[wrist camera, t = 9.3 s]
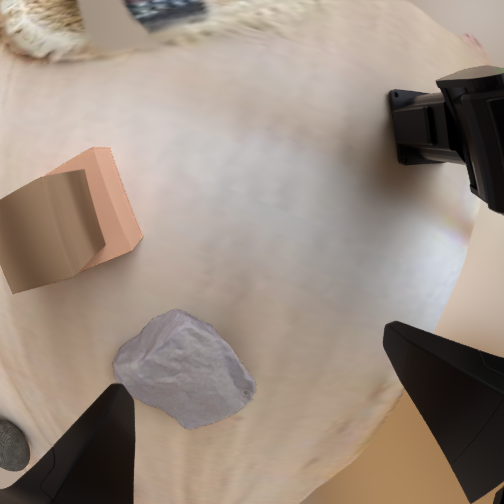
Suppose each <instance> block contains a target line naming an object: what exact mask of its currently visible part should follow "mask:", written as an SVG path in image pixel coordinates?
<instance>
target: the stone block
mask: <svg viewBox="0 0 504 504" xmlns="http://www.w3.org/2000/svg"><path fill="white" fill-rule="evenodd" d="M113 368H114V376H115V379H116V381H117V383H122V384H123V385H124V386H125V387H126V389H127V390H128V392H129V393H130V395H132V396H133V397H134V398H136V399H138V400H140V401H141V402H143V403H145V404H147V405H149V406H153V407H156V408H159V409H161V410H163V411H165V412H166V413H167V414H169V415H170V416H172V417H174V418H175V419H176V420H177V421H178V422H179V423H180V424H181V425H182V426H183V427H184V428H187V429H195V428H198V427H201V426H206V425H209V424H212V423H214V422H217V421H220V420H222V419H224V418H226V417H229V416H230V415H233V414H235V413H237V412H238V411H239V410H241V409H242V408H243V407H244V406H246V405H247V404H248V403H249V402H251V401H252V400H253V397H252V395H253V394H254V393H256V382H255V380H254V378H253V377H252V376H251V375H250V373H249V372H248V371H247V370H246V369H245V367H244V365H243V363H242V362H241V361H240V360H239V359H238V357H237V356H236V354H235V352H234V351H233V350H232V348H231V347H230V346H229V344H228V343H227V342H226V341H225V340H224V339H222V338H221V337H220V336H219V335H218V333H217V332H216V331H215V330H214V328H213V327H212V326H211V325H210V324H208V323H205V322H203V321H201V320H199V319H198V318H196V317H194V316H192V315H190V314H188V313H186V312H184V311H181V310H178V309H173V310H171V311H169V312H167V313H165V314H163V315H160V316H157V317H156V318H154V319H152V320H151V321H150V322H149V324H148V325H147V326H146V327H145V328H143V330H142V332H141V333H140V334H139V335H137V336H136V337H134V338H133V339H131V340H129V341H128V342H127V343H126V344H125V345H124V346H123V347H122V348H120V350H119V351H118V354H117V355H116V357H115V359H114V361H113Z"/></svg>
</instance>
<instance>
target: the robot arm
mask: <svg viewBox="0 0 504 504" xmlns="http://www.w3.org/2000/svg"><path fill="white" fill-rule="evenodd" d="M436 84H437V86H438V88H440V90H441V93H433V94H429V93H422V92H415V91H406V90H397V89H394V90H391V91H390V92H389V98H390V103H391V109H392V115H393V122H394V129H395V137H396V144H397V154H398V161H399V163H400V164H401V165H415V164H429V163H446V162H450V163H456V164H462V165H466V167H467V171H468V175H469V179H470V189H471V192H472V193H473V194H475V195H476V196H477V197H479V198H480V199H482V200H483V201H484V202H486V203H487V204H488V208H489V209H491V210H492V211H494V212H497V213H499V214H502V215H504V68H499V67H493V66H479V67H474V68H468V69H464V70H461V71H458V72H456V73H453V74H451V75H448V76H445V77H443V78H440V79H438V80H436ZM394 93H395V95H396V97H395V96H394ZM403 157H404V158H405V160H404V161H403ZM383 347H384V350H385V351H386V353H387V355H388V357H389V359H390V361H391V363H392V365H393V368H394V370H395V372H396V374H397V376H398V378H399V380H400V381H401V383H402V385H403V386H404V388H405V390H406V391H407V393H408V394H409V396H410V397H411V399H412V401H413V402H414V404H415V405H416V407H417V409H418V410H419V412H420V414H421V415H422V417H423V419H424V420H425V422H426V424H427V425H428V427H429V429H430V430H431V432H432V434H433V436H434V437H435V439H436V441H437V442H438V444H439V446H440V447H441V449H442V451H443V453H444V455H445V456H446V458H447V460H448V462H449V464H450V466H451V468H452V470H453V472H454V473H455V475H456V477H457V479H458V481H459V483H460V485H461V487H462V489H463V491H464V493H465V495H466V497H467V499H468V501H469V502H470V504H472V503H473V502H475V501H476V500H478V499H480V498H481V497H482V496H484V495H486V494H487V493H488V492H490V491H491V490H493V489H494V488H496V487H497V486H498V485H500V484H501V483H502V482H504V358H502V357H499V356H495V355H493V354H489V353H486V352H483V351H481V350H478V349H474V348H472V347H469V346H466V345H463V344H460V343H457V342H455V341H452V340H449V339H446V338H443V337H441V336H437V335H435V334H432V333H429V332H427V331H424V330H421V329H418V328H415V327H413V326H410V325H407V324H404V323H402V322H399V321H393V322H390V323H388V324H386V325H385V328H384V336H383ZM134 459H135V408H134V400H133V398H132V396H131V395H130V393H129V392H128V390H127V389H126V387H125V386H124V385H123V384H122V383H115V384H111V385H110V386H109V387H108V388H107V389H106V390H105V391H104V392H103V393H102V394H101V395H100V396H99V397H98V398H97V399H96V400H95V401H94V403H93V404H92V405H91V406H90V407H89V408H88V409H87V410H86V411H85V412H84V413H83V414H82V415H81V416H80V417H79V419H78V420H77V421H76V422H75V423H74V424H73V425H72V426H71V427H70V428H69V429H68V430H67V431H66V433H65V434H64V435H63V436H62V437H61V438H60V439H59V440H58V441H57V442H56V443H55V444H54V446H53V447H52V448H51V449H50V450H49V451H48V452H47V453H46V454H45V455H44V456H43V457H42V458H41V459H40V460H39V461H38V462H37V463H36V464H35V465H34V466H33V467H32V468H31V469H30V470H28V471H27V472H26V473H25V474H24V475H23V476H22V477H20V478H19V479H18V480H17V481H16V482H15V483H14V484H13V485H11V486H9V487H7V488H5V489H0V504H134ZM493 504H504V486H503V487H502V488H501V489H499V490H498V491H497V492H496V494H495V498H494V501H493Z"/></svg>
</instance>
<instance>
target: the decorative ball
mask: <svg viewBox="0 0 504 504" xmlns="http://www.w3.org/2000/svg"><path fill="white" fill-rule="evenodd" d="M29 460H30V448H29V445H28V442H27V440H26V438H25V437H24V435H23V434H22V432H21V431H20V430H19V429H18V428H17V427H16V426H15V425H13V424H12V423H10V422H8V421H6V420H3V419H0V467H1V468H3V469H5V470H9V471H20V470H23V469H24V468H25V467H26V466H27V465H28V463H29Z"/></svg>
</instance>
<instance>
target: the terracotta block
mask: <svg viewBox="0 0 504 504" xmlns="http://www.w3.org/2000/svg"><path fill="white" fill-rule="evenodd" d="M81 169H85V173H86V178H87V182H88V186H89V190H90V193H91V197H92V201H93V204H94V208H95V211H96V215H97V218H98V221H99V225H100V228H101V231H102V234H103V237H104V240H105V243H106V245H105V246H104V247H103V248H102V249H101V250H100V251H99V252H98V253H97V254H96V255H95V256H94V257H93V258H92V259H91V260H90V261H89V262H88V263H87V264H86V265H85V266H84V267H83V268H82V269H81V270H80V271H79V272H81V271H84V270H86V269H88V268H91V267H93V266H96V265H98V264H100V263H103V262H105V261H108V260H110V259H113V258H115V257H118V256H120V255H123V254H125V253H128V252H130V251H132V250H133V249H134V248H135V246H136V245H137V244H138V242H139V241H140V240H141V239H142V237H143V234H142V232H141V230H140V227H139V225H138V222H137V220H136V217H135V215H134V212H133V210H132V207H131V205H130V202H129V200H128V197H127V194H126V192H125V189H124V186H123V183H122V181H121V178H120V175H119V172H118V169H117V166H116V163H115V160H114V157H113V154H112V151H111V148H107V147H92V148H90V149H88V150H86V151H85V152H83V153H81V154H79V155H77V156H76V157H74V158H72V159H71V160H69V161H67V162H66V163H64V164H62V165H61V166H59V167H57V168H56V169H54V170H53V171H51V172H49V173H48V174H46V175H45V176H48V175H53V174H58V173H64V172H69V171H75V170H81ZM79 272H78V273H79ZM55 283H56V282H55Z"/></svg>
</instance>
